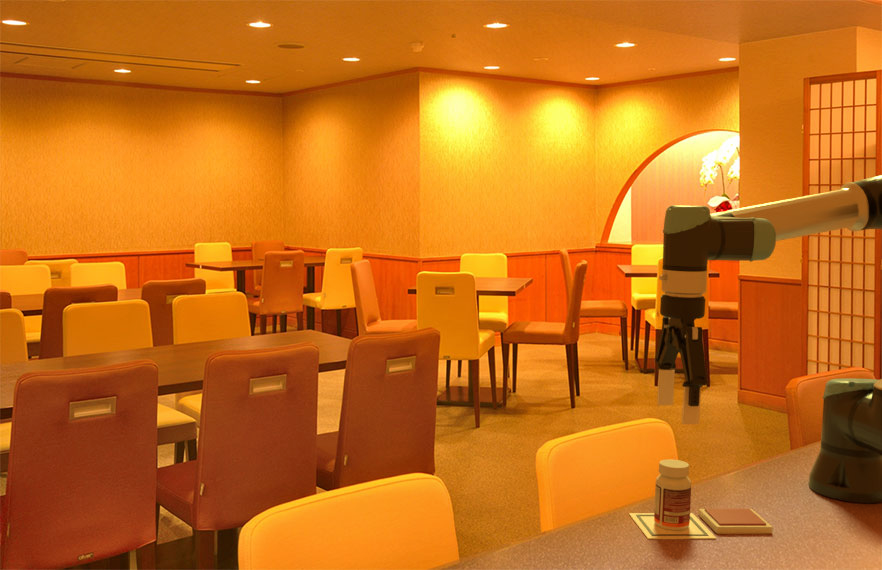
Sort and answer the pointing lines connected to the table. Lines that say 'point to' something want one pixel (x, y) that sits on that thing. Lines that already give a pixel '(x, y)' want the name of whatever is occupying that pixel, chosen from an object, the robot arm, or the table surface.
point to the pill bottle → (672, 495)
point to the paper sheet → (655, 532)
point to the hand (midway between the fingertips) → (677, 414)
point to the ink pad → (735, 521)
